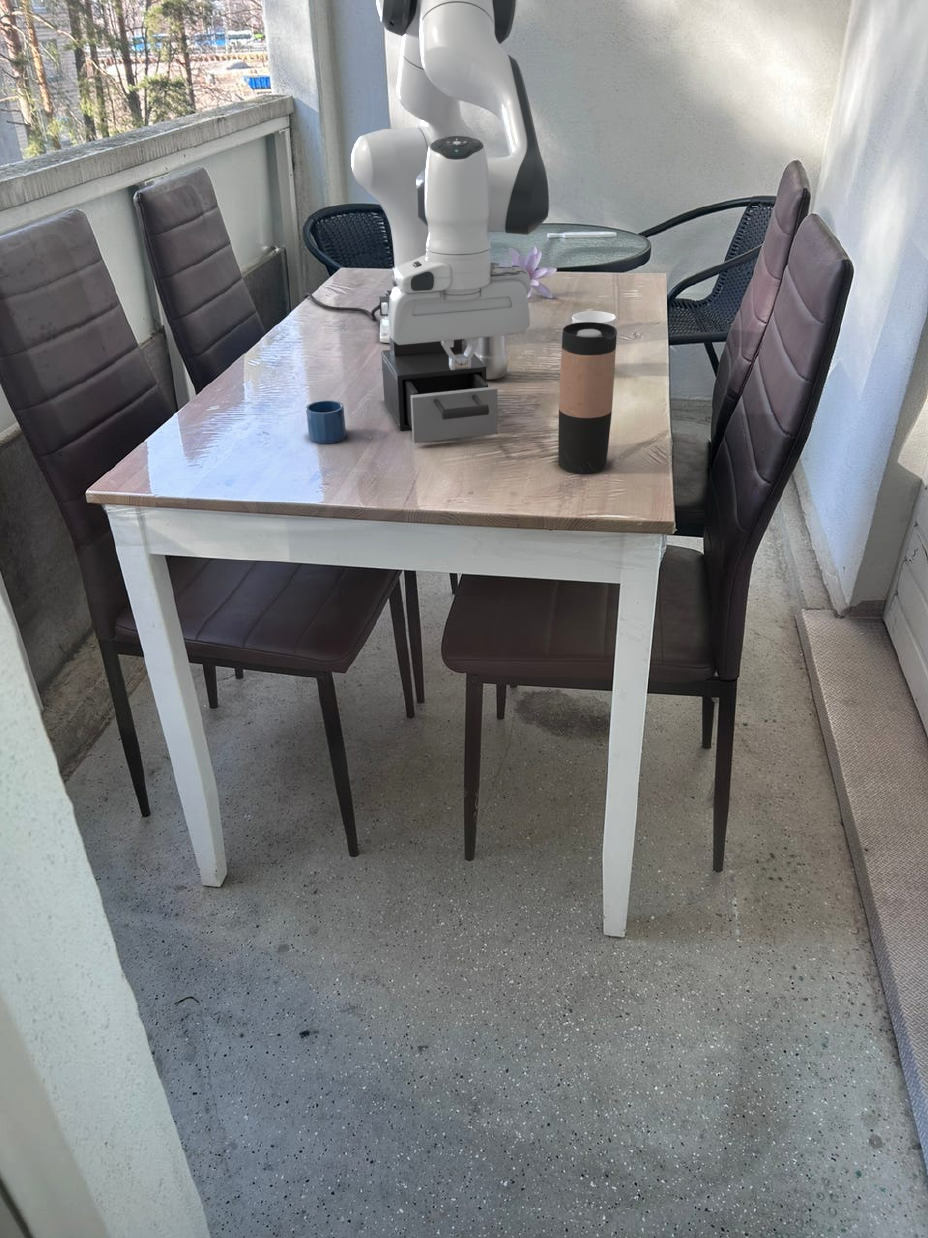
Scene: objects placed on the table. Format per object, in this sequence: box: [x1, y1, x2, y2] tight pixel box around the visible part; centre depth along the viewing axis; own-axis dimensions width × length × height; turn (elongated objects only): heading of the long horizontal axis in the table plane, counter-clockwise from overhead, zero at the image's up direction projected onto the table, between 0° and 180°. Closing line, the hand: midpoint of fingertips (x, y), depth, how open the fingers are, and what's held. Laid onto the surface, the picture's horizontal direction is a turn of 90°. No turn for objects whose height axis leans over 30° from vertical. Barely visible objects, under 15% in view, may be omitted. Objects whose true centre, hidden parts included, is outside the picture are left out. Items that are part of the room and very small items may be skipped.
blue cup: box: [305, 400, 347, 445], centre depth 151 cm, size 6×6×5 cm
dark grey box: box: [380, 342, 487, 431], centre depth 159 cm, size 14×15×9 cm
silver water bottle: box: [474, 261, 509, 380], centre depth 170 cm, size 6×7×20 cm
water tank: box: [384, 289, 463, 356], centre depth 157 cm, size 4×12×10 cm, turn 105°
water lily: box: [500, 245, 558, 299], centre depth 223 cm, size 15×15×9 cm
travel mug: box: [557, 322, 618, 475], centre depth 136 cm, size 8×8×20 cm
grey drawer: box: [402, 372, 498, 444], centre depth 149 cm, size 19×13×7 cm
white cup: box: [571, 310, 617, 328], centre depth 175 cm, size 8×8×10 cm
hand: (460, 368), depth 139 cm, fingers closed
